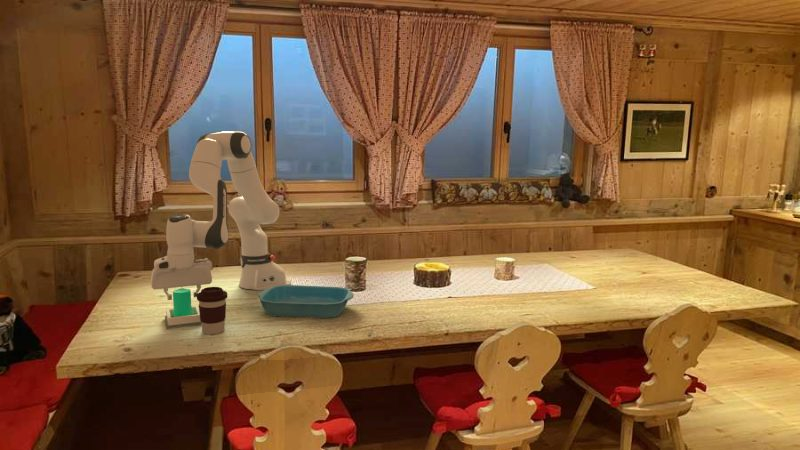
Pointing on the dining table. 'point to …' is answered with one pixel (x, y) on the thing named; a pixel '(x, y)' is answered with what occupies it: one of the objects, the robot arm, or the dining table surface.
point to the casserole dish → (305, 300)
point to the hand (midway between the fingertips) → (182, 298)
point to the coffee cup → (212, 309)
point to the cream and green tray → (182, 318)
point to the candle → (182, 302)
